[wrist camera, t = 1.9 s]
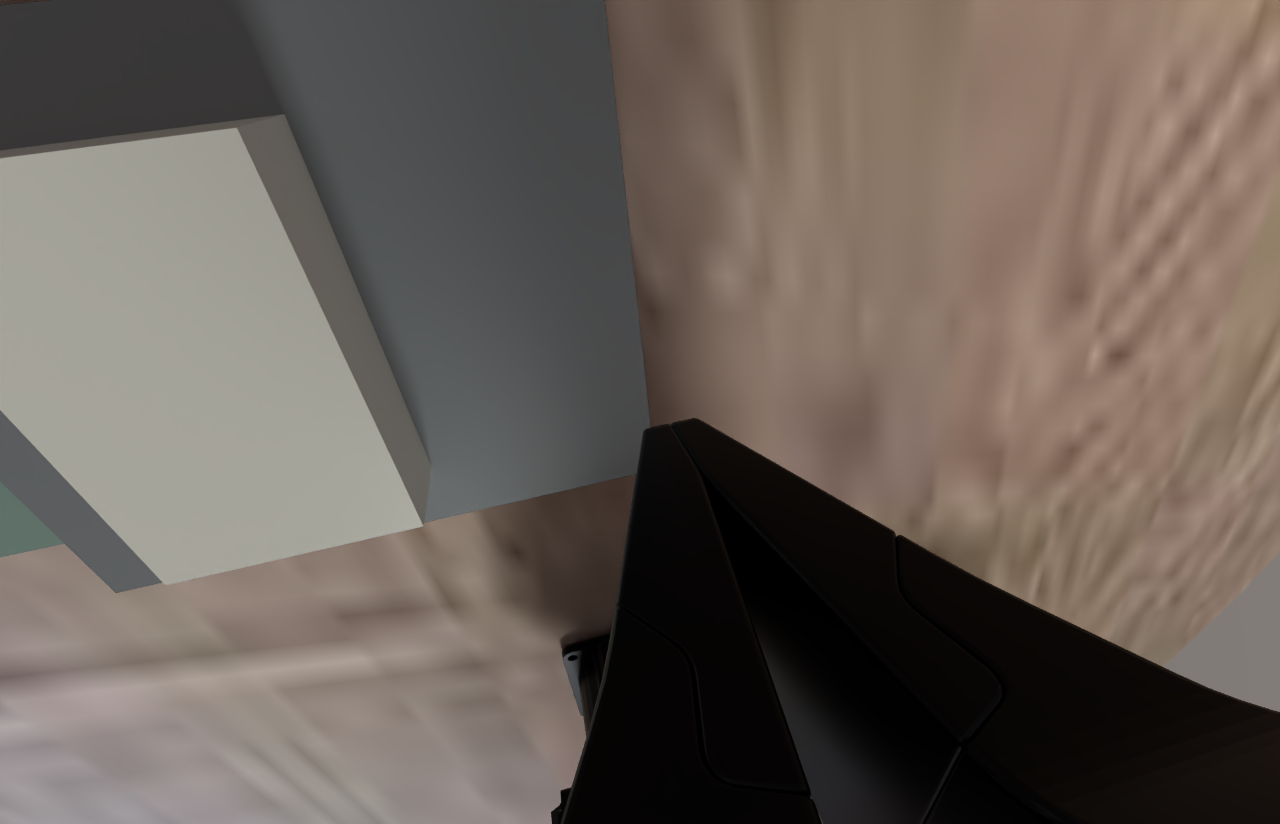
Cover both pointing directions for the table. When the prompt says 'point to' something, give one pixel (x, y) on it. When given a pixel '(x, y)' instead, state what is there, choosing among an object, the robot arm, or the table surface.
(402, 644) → the table surface
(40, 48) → the grey flat box
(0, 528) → the mat
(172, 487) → the block
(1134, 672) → the robot arm
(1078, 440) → the table surface
